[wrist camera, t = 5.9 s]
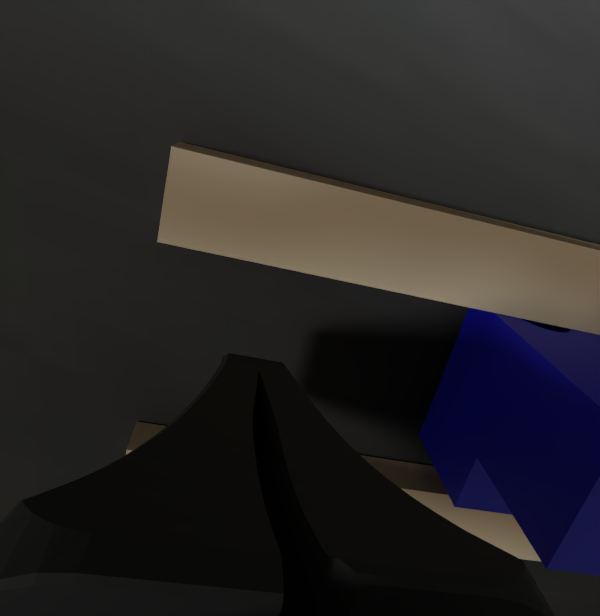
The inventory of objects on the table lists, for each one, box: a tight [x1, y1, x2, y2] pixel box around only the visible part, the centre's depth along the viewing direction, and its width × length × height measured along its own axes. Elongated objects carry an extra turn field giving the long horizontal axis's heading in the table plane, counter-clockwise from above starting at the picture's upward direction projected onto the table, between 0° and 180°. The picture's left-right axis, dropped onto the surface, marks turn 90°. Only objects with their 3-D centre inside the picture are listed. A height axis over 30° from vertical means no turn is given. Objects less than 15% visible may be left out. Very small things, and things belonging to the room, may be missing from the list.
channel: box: [126, 142, 600, 561], centre depth 13 cm, size 10×21×4 cm, turn 76°
